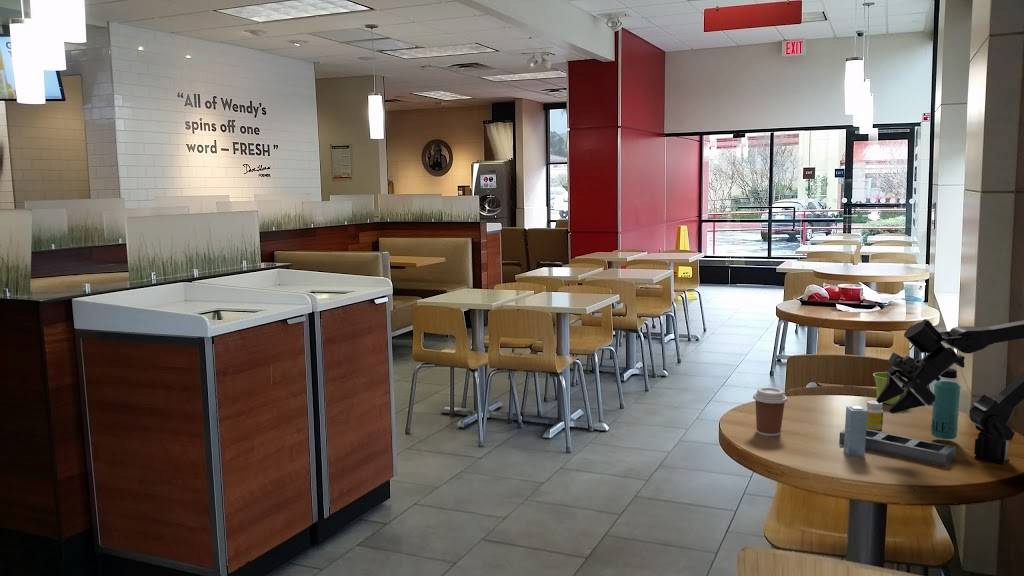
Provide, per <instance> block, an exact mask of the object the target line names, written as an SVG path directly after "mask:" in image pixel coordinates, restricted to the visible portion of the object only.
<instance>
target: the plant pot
mask: <svg viewBox="0 0 1024 576" xmlns="http://www.w3.org/2000/svg"><path fill="white" fill-rule="evenodd" d="M886 374H888V373H887V372H886V371H884V372H883V371H881V372H874V373H872V376H873V377H874V378H873V379H874V382H875V392H876V399H877V398H878V397H879V395H880V394H881V392H882V390H883V389H884V387H885V385H886V383H887V376H886ZM888 375H889V374H888ZM901 388H902V387H901ZM902 389H903V388H902ZM900 397H901V395H898V396H896V397H894V398H892V399H889V400H887V401H885V402H882V404H888V405H894V404H895V403H896V402H897V401H898V399H899V398H900Z"/></svg>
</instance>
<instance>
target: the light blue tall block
mask: <svg viewBox="0 0 1024 576" xmlns="http://www.w3.org/2000/svg"><path fill="white" fill-rule="evenodd" d="M867 412H868V411H867V410H866V407H864V406H860V405H846V407H845V423H844V424H845V425H844V430H845V436H844V444H843V452H844V453H845V454H846V456H847V457H857V458H858V457H859V458H860V457H861V458H865V457H866V455H865V454H866V449H865V443H866V428H867Z"/></svg>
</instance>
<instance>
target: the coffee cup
mask: <svg viewBox="0 0 1024 576" xmlns="http://www.w3.org/2000/svg"><path fill="white" fill-rule="evenodd" d="M752 399H753V400H754V401H755V421H756V423H755V424H756V433H757V434H759V435H762V436H765V437H777V436H780V435H781V432H782V424H783V417H784V411H785V410H784V409H785V403H787V402H788V396H786V394H785V391H784V390H782V389H780V388H776V387H765V386H764V387H759V388H758V389H757V391H756V392H755V393H754V394H753V396H752Z"/></svg>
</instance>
